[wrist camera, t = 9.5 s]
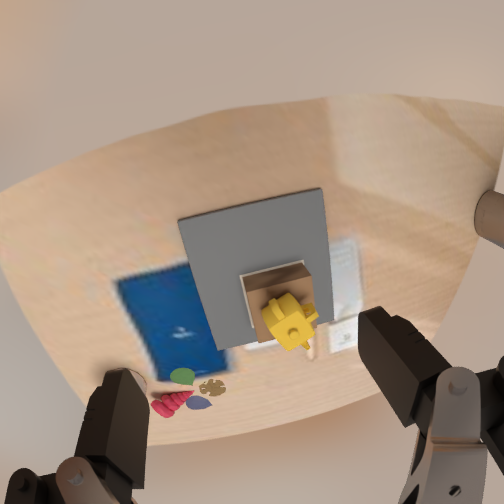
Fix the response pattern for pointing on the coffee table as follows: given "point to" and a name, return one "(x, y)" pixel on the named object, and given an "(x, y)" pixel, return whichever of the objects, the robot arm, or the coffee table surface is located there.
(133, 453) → the robot arm
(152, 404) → the toy pieces
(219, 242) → the gray board
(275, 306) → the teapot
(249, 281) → the base block
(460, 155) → the coffee table surface
